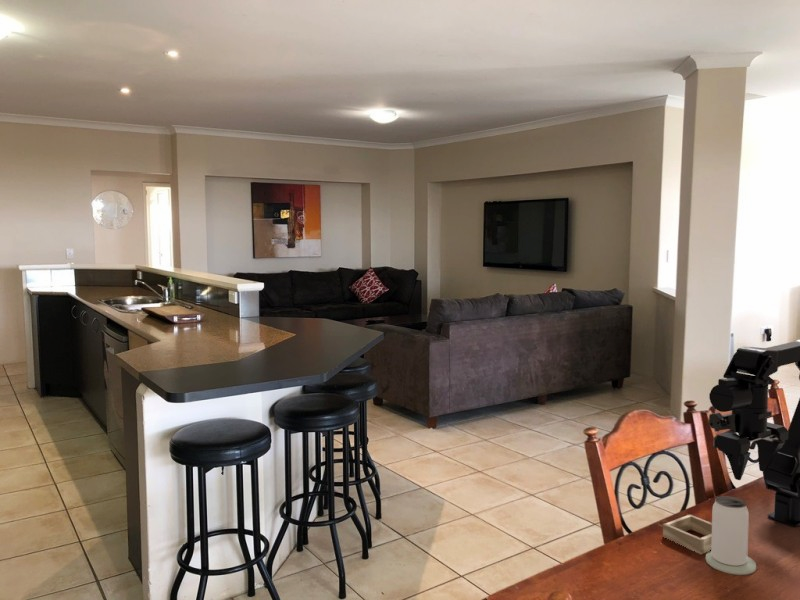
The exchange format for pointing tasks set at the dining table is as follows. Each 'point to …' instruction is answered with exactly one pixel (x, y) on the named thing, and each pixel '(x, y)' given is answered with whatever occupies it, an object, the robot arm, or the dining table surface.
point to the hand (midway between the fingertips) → (750, 475)
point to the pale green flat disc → (737, 570)
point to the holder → (694, 543)
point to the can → (730, 531)
